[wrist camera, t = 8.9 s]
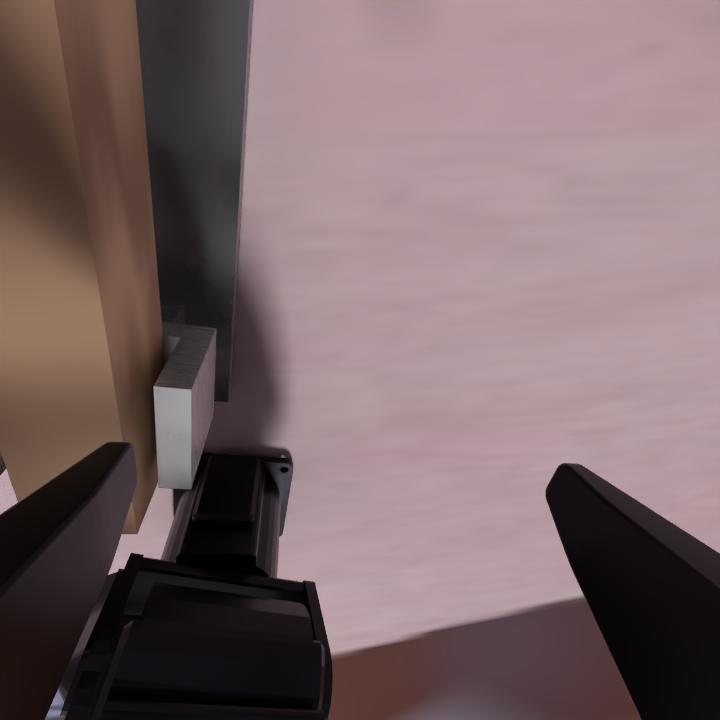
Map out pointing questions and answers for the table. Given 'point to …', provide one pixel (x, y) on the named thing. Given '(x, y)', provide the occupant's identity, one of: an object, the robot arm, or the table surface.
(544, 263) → the table surface
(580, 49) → the table surface
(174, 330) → the bracket stand
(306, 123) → the table surface
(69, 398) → the rail
